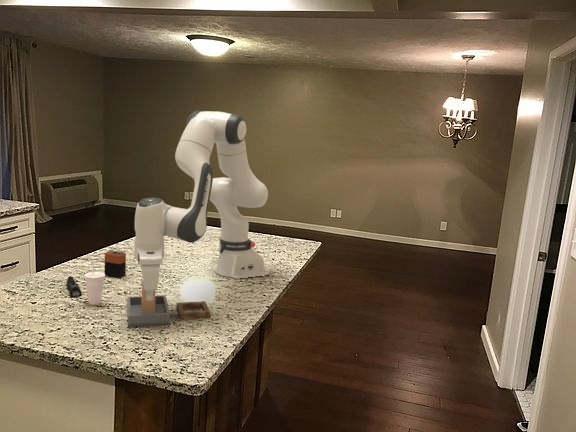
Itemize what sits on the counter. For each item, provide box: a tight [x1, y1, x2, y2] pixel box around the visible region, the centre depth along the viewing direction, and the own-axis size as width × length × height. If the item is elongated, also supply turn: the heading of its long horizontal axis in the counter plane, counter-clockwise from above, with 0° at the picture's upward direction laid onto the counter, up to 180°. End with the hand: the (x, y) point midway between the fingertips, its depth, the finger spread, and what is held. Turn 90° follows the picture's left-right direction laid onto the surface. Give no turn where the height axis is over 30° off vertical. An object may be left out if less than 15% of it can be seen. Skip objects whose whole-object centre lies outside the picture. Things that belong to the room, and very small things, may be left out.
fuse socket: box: [176, 300, 211, 321], centre depth 156 cm, size 9×9×2 cm
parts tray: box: [126, 294, 171, 328], centre depth 152 cm, size 12×16×4 cm
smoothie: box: [83, 261, 106, 306], centre depth 157 cm, size 6×6×14 cm
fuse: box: [140, 279, 157, 314], centre depth 151 cm, size 4×4×10 cm
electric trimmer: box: [66, 275, 83, 299], centre depth 169 cm, size 4×16×3 cm, turn 30°
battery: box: [104, 249, 127, 279], centre depth 186 cm, size 4×7×10 cm, turn 76°
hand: (148, 294), depth 151 cm, fingers open, 8 cm apart
